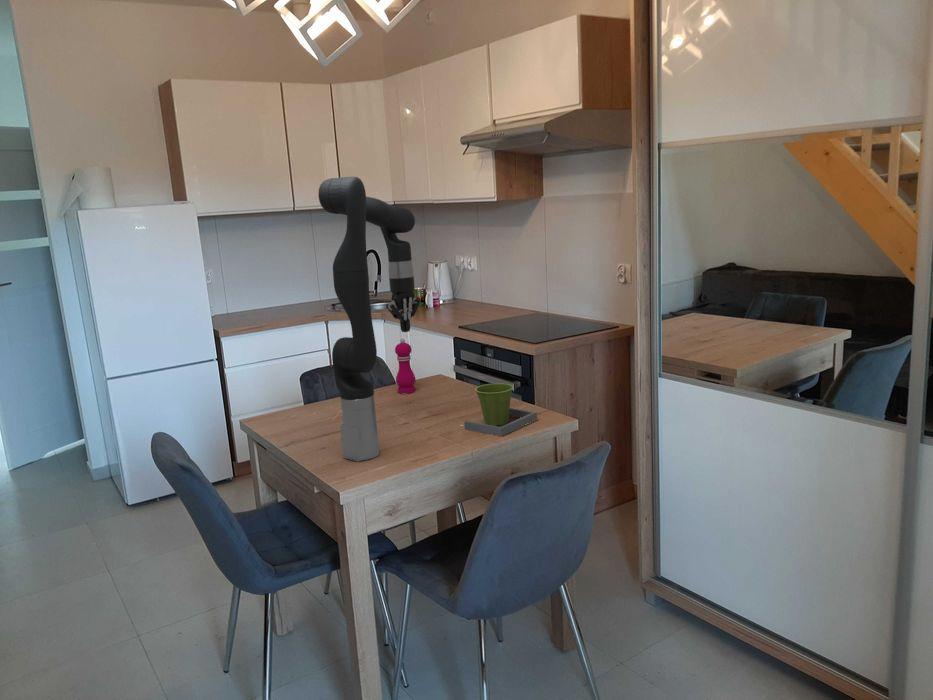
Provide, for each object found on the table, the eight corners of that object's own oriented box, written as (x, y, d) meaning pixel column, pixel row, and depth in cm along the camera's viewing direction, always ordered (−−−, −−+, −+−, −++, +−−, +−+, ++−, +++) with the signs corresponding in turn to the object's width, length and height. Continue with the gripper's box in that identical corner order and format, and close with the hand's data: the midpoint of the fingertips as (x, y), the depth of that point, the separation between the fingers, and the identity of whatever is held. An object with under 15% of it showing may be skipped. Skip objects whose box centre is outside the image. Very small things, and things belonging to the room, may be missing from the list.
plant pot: (519, 417, 225) (517, 382, 222) (510, 429, 213) (509, 393, 211) (482, 416, 228) (480, 382, 226) (472, 428, 217) (470, 392, 214)
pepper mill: (413, 394, 260) (409, 340, 256) (394, 394, 262) (389, 340, 258) (418, 389, 267) (414, 336, 263) (400, 389, 269) (395, 337, 265)
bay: (501, 436, 207) (501, 428, 207) (464, 429, 216) (464, 421, 216) (537, 420, 221) (536, 412, 220) (501, 413, 230) (500, 406, 229)
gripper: (394, 278, 211) (399, 336, 215) (425, 273, 221) (429, 328, 225) (376, 278, 216) (381, 334, 220) (407, 273, 226) (412, 327, 229)
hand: (405, 331), depth 222 cm, fingers closed
